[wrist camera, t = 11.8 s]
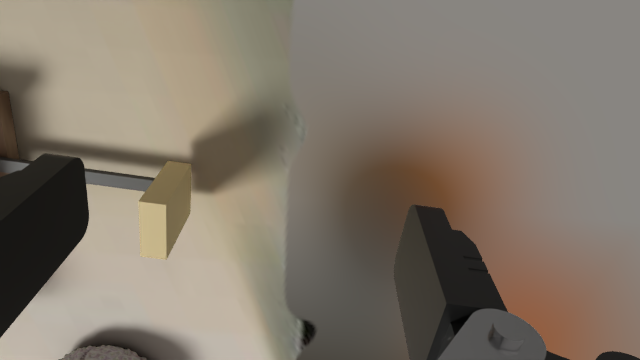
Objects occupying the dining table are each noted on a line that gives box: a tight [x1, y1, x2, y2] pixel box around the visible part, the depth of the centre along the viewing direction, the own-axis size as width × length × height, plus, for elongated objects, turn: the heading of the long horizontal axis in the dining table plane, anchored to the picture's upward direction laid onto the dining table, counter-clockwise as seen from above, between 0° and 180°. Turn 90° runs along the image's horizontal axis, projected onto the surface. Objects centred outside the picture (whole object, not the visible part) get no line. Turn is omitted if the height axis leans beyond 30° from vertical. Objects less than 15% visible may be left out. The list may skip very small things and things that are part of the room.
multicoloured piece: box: [0, 157, 191, 260], centre depth 38 cm, size 8×26×7 cm, turn 82°
